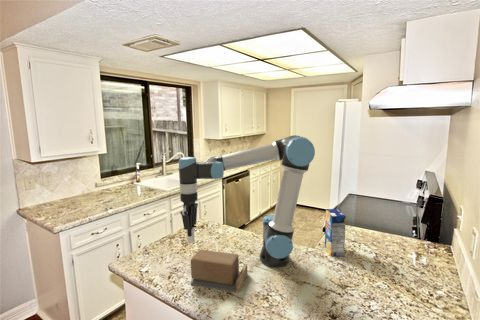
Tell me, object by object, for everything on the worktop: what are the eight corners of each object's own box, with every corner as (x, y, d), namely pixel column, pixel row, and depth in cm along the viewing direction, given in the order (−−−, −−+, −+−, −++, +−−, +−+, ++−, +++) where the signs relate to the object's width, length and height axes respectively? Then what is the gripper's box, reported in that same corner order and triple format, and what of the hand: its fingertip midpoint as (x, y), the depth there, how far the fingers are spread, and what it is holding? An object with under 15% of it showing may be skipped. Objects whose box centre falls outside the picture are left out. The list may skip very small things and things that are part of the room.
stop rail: (247, 273, 123) (247, 263, 122) (239, 292, 110) (238, 281, 109) (244, 273, 123) (244, 263, 122) (236, 292, 110) (236, 281, 109)
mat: (245, 273, 123) (245, 272, 123) (236, 292, 110) (236, 290, 110) (203, 267, 129) (203, 266, 129) (190, 284, 116) (190, 283, 116)
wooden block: (190, 279, 118) (233, 286, 113) (189, 259, 117) (232, 265, 111) (200, 267, 128) (239, 273, 122) (199, 248, 126) (239, 253, 121)
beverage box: (330, 256, 137) (332, 216, 134) (324, 246, 148) (325, 209, 145) (344, 256, 137) (345, 216, 133) (336, 246, 148) (338, 208, 144)
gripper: (187, 187, 124) (190, 234, 128) (173, 195, 112) (176, 247, 115) (202, 188, 122) (204, 236, 126) (189, 196, 110) (192, 249, 113)
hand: (191, 241), depth 120 cm, fingers closed
